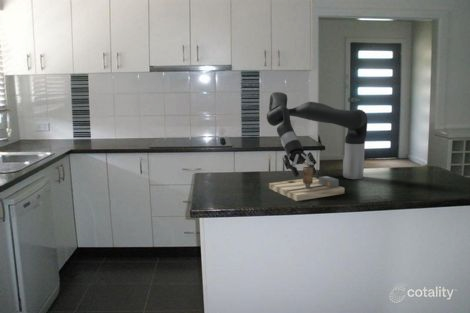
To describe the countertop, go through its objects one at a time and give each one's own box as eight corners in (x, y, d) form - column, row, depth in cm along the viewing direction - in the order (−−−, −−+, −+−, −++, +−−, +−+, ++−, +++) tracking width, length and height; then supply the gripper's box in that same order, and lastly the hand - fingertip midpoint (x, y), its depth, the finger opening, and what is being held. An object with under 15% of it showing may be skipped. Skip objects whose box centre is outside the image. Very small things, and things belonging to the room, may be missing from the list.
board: (268, 188, 189) (268, 182, 189) (313, 182, 199) (313, 177, 199) (296, 200, 170) (296, 194, 169) (344, 193, 180) (344, 187, 179)
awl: (300, 193, 181) (301, 167, 179) (308, 191, 183) (309, 166, 181) (306, 195, 178) (306, 169, 176) (314, 194, 179) (314, 168, 177)
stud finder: (318, 183, 187) (318, 176, 186) (326, 182, 189) (327, 175, 188) (330, 187, 180) (330, 180, 179) (338, 186, 182) (338, 179, 181)
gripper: (301, 148, 193) (315, 178, 185) (274, 150, 187) (288, 181, 179) (308, 138, 187) (323, 168, 179) (281, 140, 181) (295, 171, 173)
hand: (306, 174), depth 179 cm, fingers open, 8 cm apart
